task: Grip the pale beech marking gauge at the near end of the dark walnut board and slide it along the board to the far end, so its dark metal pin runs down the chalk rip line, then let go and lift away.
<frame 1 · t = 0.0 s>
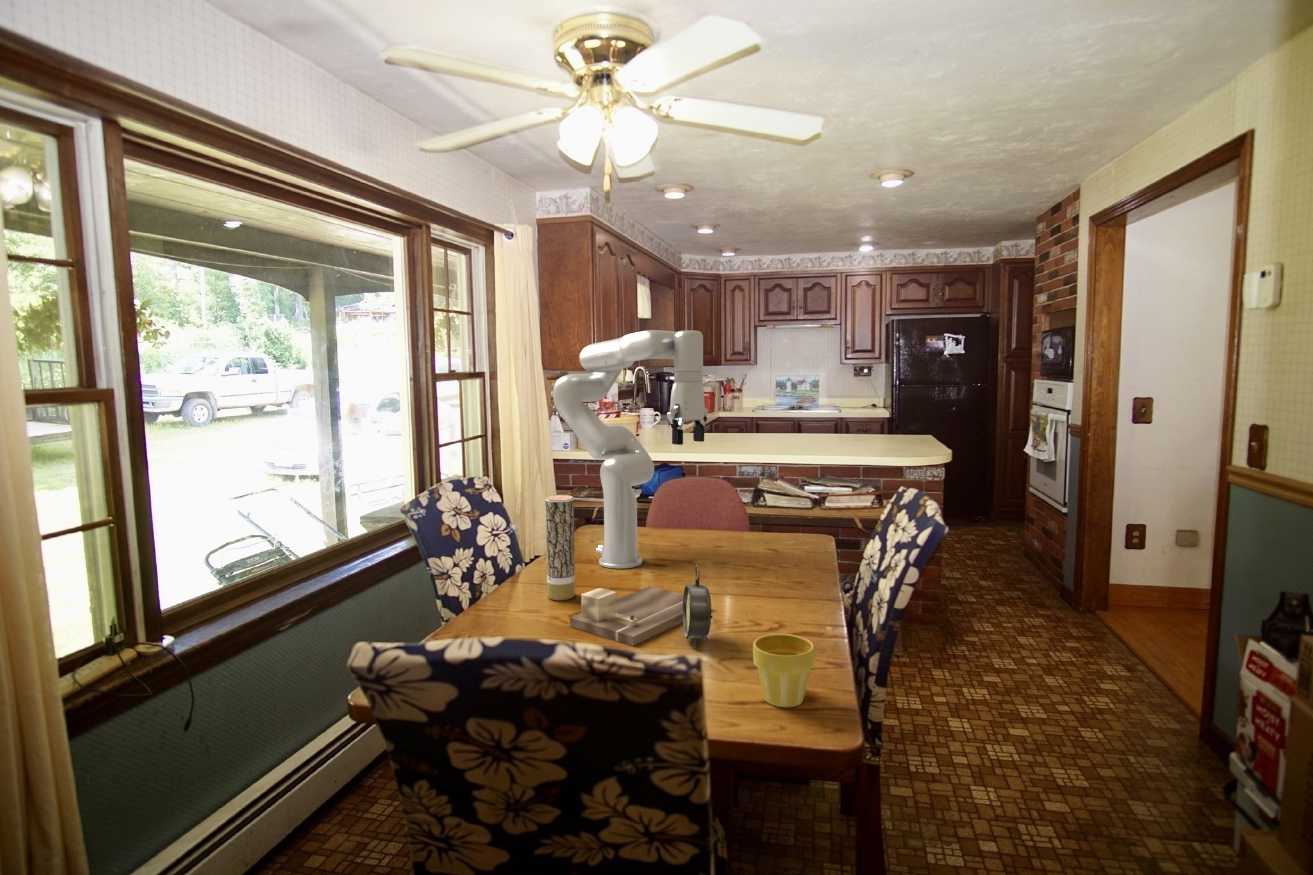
hand: (688, 442, 187), 37 cm above the table, tool pointing down, fingers open, 9 cm apart
board: (642, 617, 160), on the table
plant pot: (782, 699, 121), on the table
paper tube: (561, 597, 175), on the table
gauge: (599, 615, 156), point 2 cm above the table, touching board
alarm clock: (697, 642, 146), on the table
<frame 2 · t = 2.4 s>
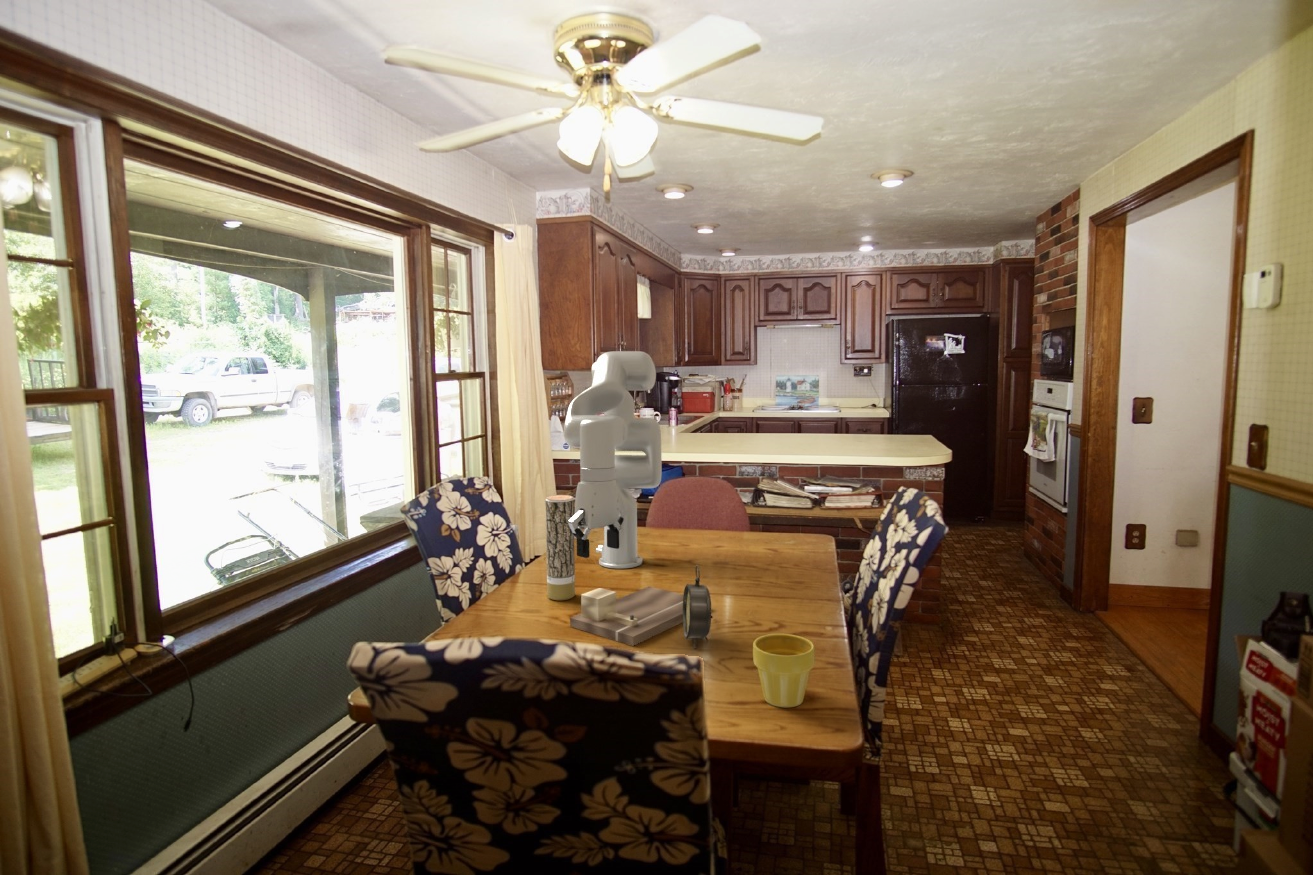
hand: (598, 552, 155), 16 cm above the table, tool pointing down, fingers open, 9 cm apart
nothing on the table moved.
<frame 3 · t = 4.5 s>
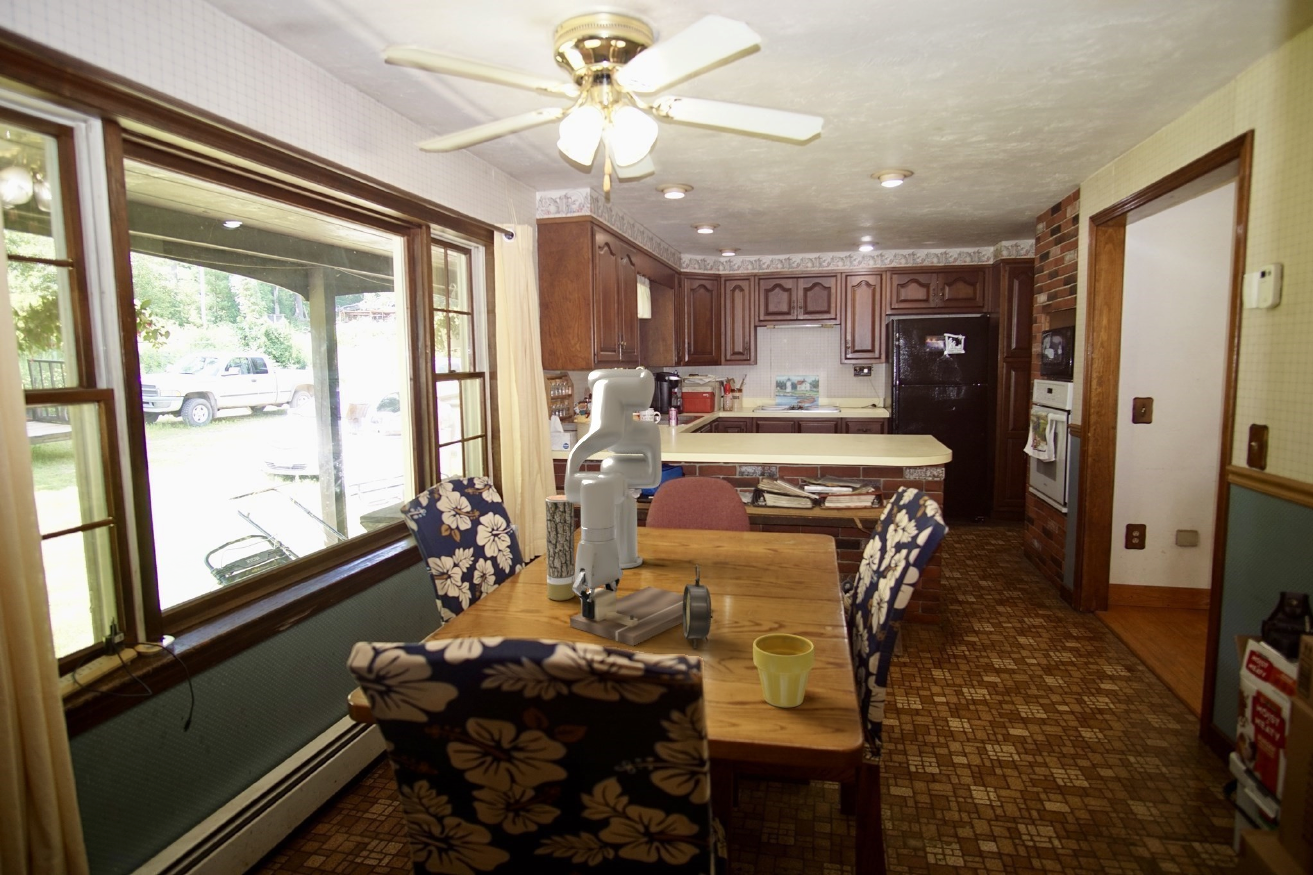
hand: (598, 612, 156), 3 cm above the table, tool pointing down, fingers closed on gauge, 6 cm apart
gauge: (599, 615, 156), point 2 cm above the table, touching board, gripper
everything else where it was.
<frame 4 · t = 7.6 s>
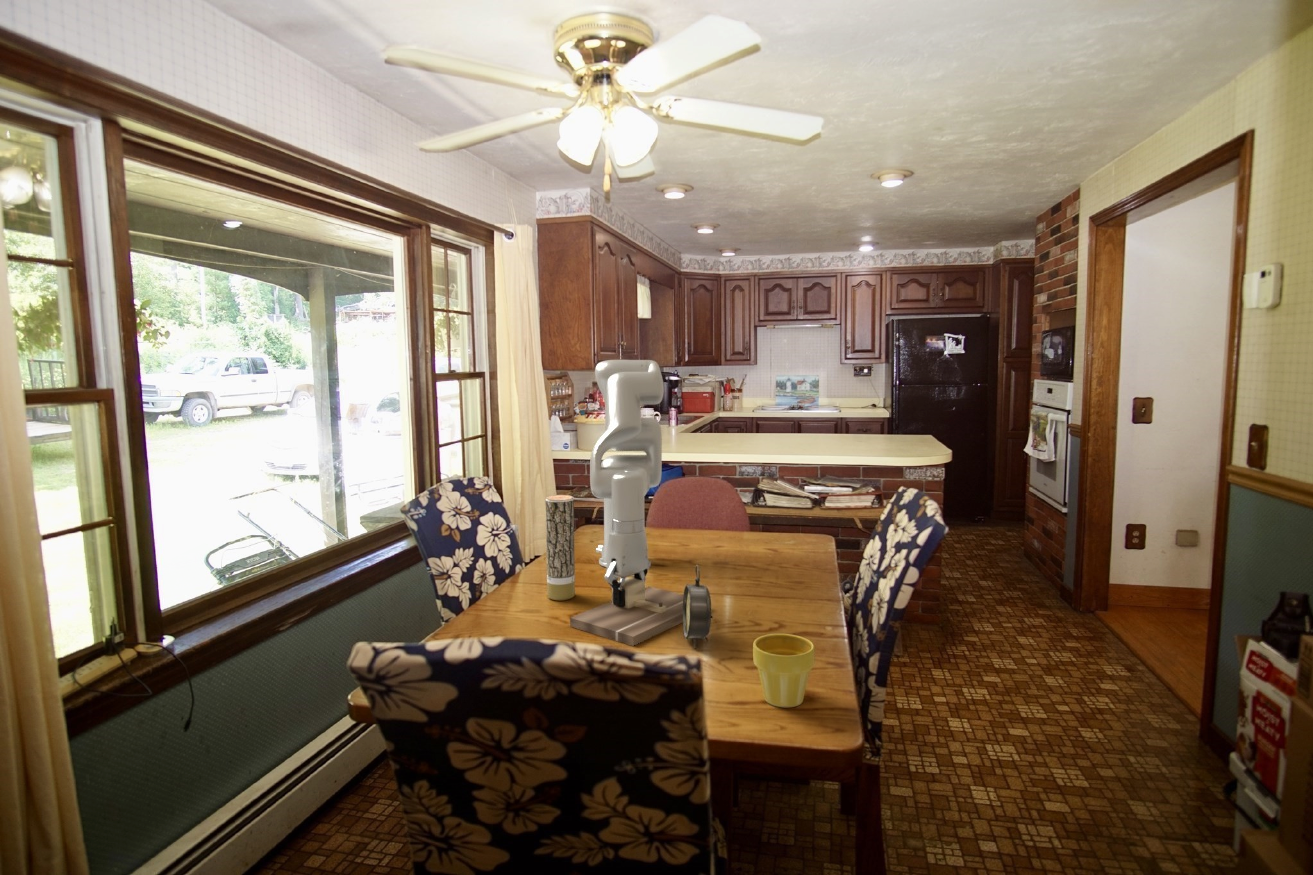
hand: (628, 601, 164), 2 cm above the table, tool pointing down, fingers closed on gauge, 6 cm apart
gauge: (628, 602, 164), point 2 cm above the table, touching gripper
everything else where it was.
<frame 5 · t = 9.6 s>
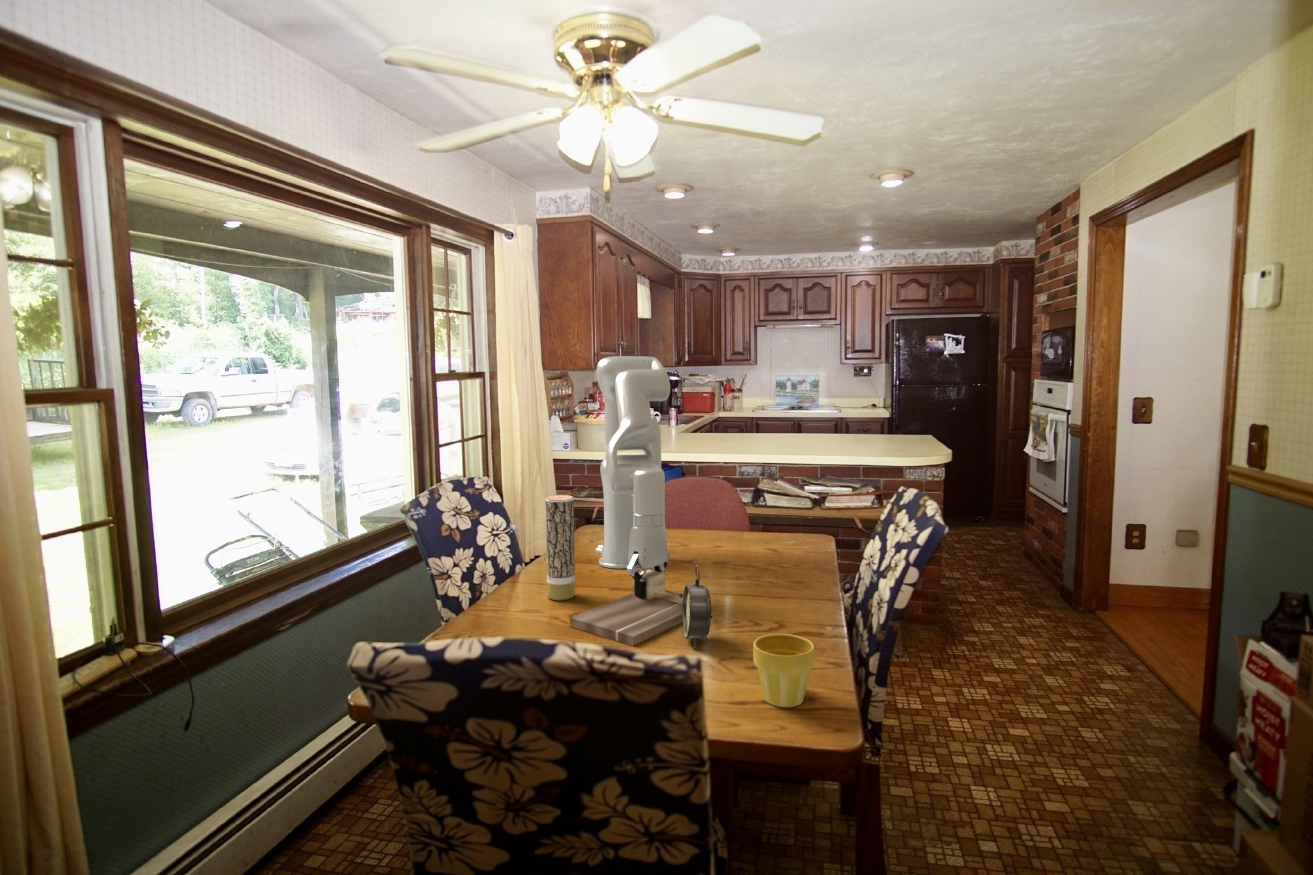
hand: (649, 592, 170), 2 cm above the table, tool pointing down, fingers closed on gauge, 6 cm apart
gauge: (649, 594, 170), point 2 cm above the table, touching gripper
everything else where it was.
when the fingers open (3 cm above the table, at t = 10.7 s): gauge stays where it is, resting on board.
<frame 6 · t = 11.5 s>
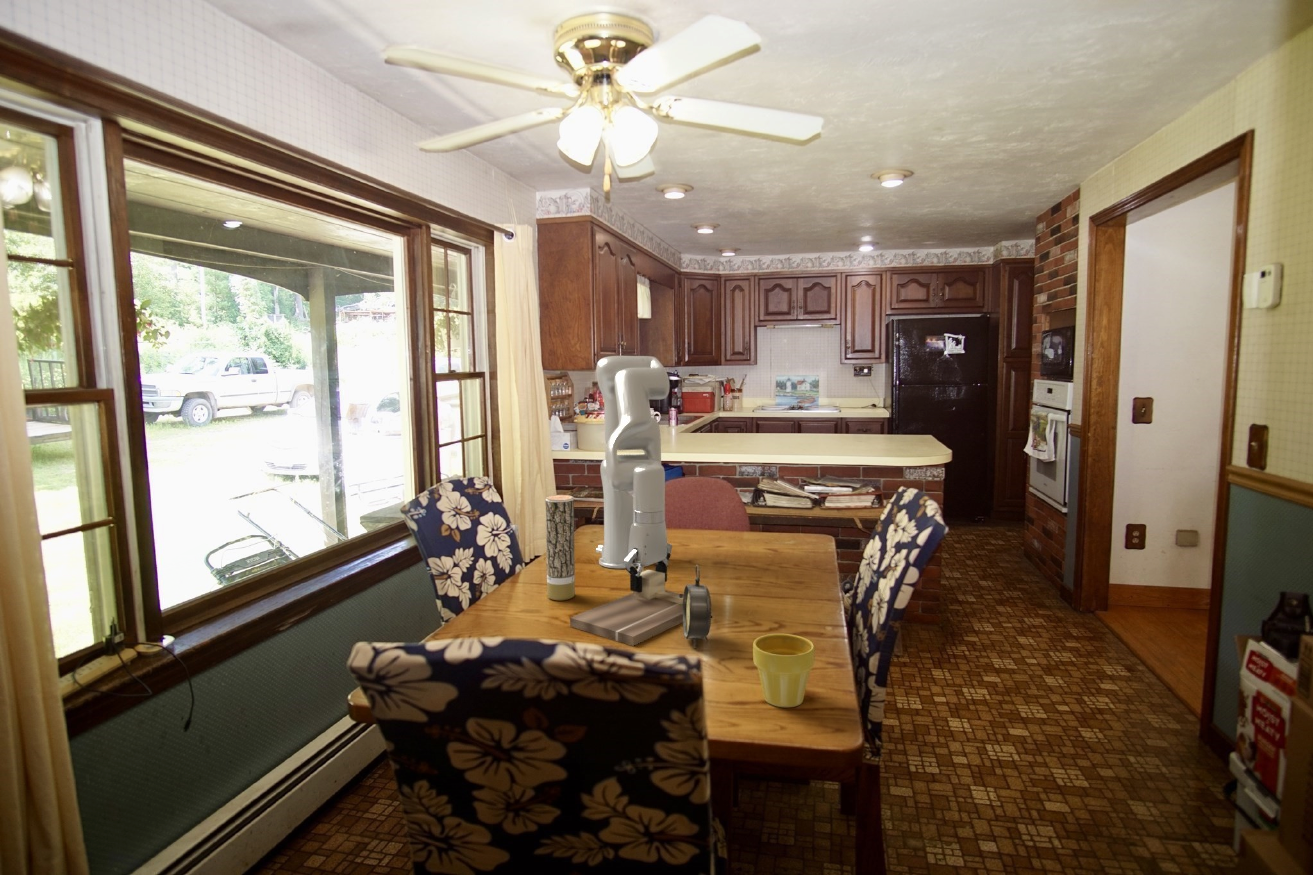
hand: (648, 585, 171), 4 cm above the table, tool pointing down, fingers open, 9 cm apart
gauge: (649, 594, 170), point 2 cm above the table, touching board
everything else where it was.
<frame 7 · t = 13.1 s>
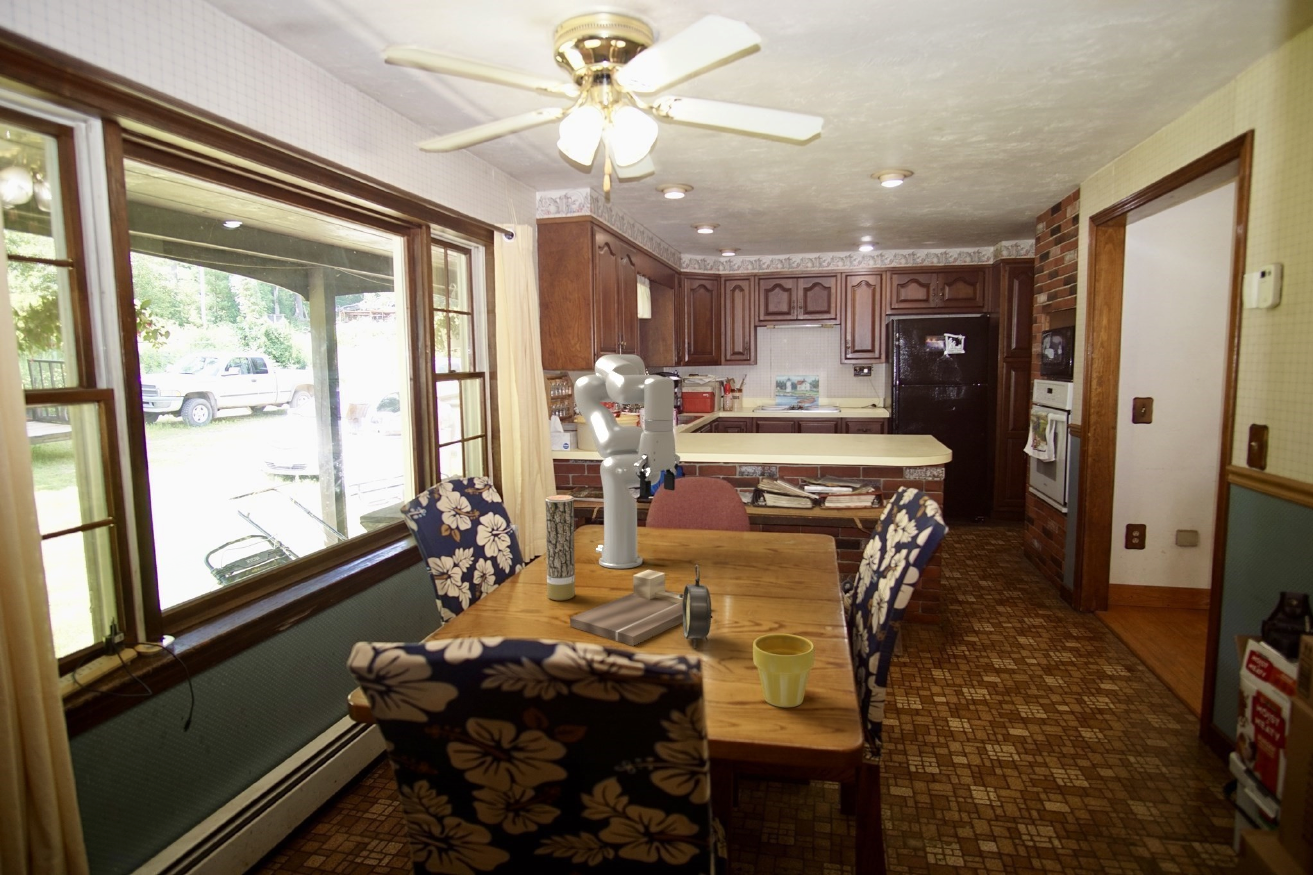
hand: (657, 492, 180), 25 cm above the table, tool pointing down, fingers open, 9 cm apart
nothing on the table moved.
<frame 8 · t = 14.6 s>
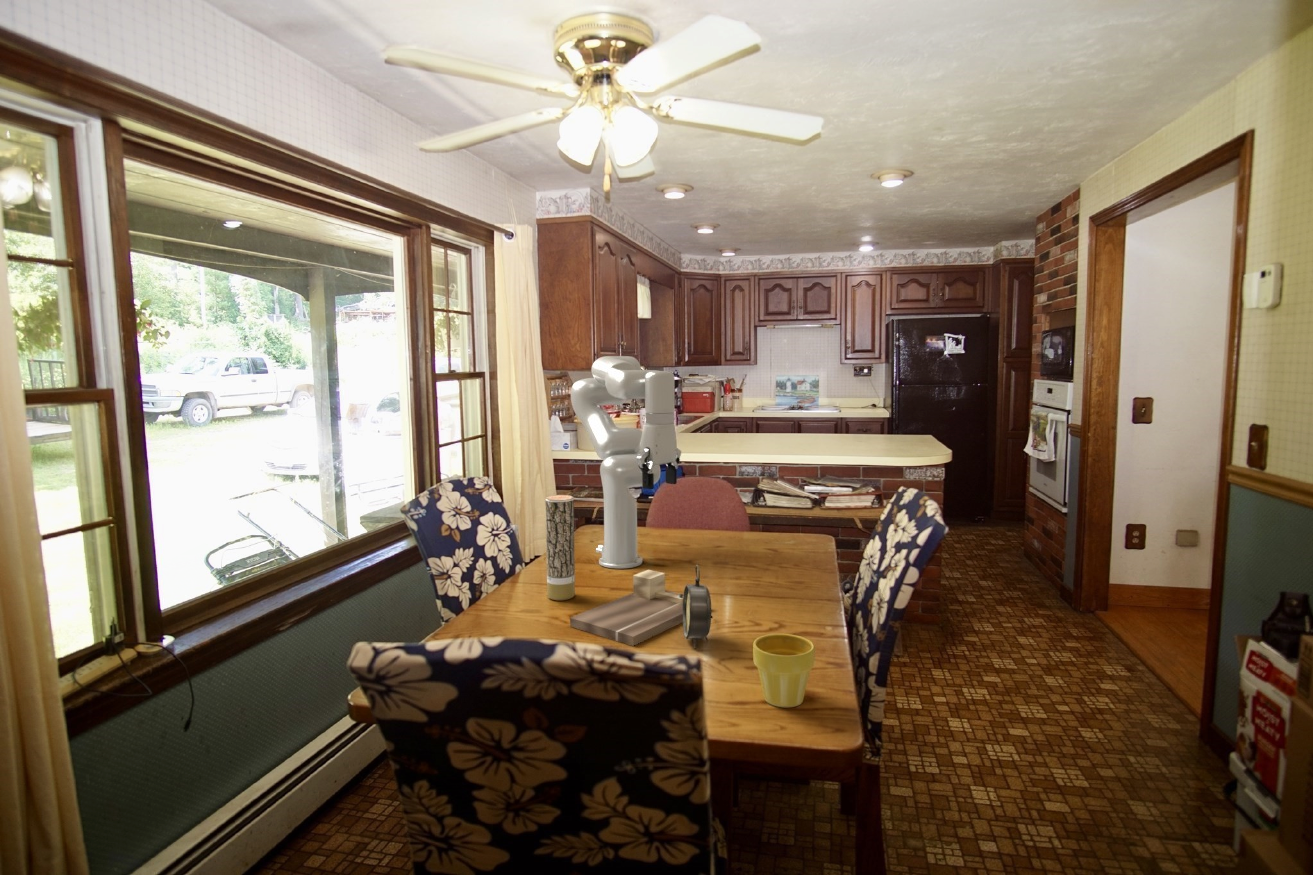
hand: (659, 486, 181), 26 cm above the table, tool pointing down, fingers open, 9 cm apart
nothing on the table moved.
at the end: gauge inside the target area (0.1 cm from its centre), point 2.0 cm above the table; gauge tilted 0°; gauge moved 18.0 cm from its start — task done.
